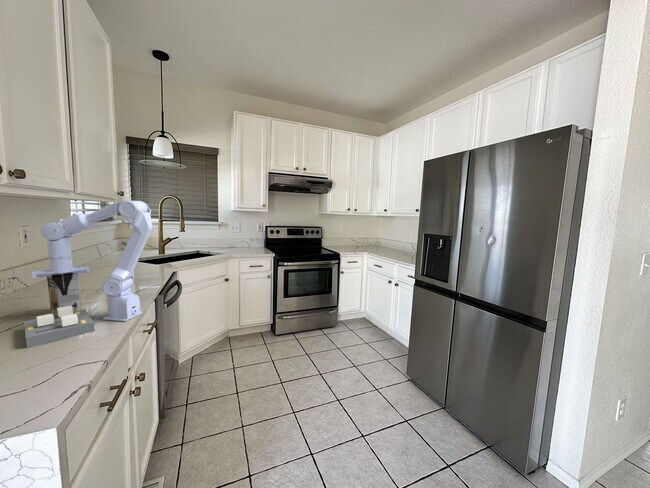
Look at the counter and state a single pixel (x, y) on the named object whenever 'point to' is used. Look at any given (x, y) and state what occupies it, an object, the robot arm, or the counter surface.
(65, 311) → the switch far
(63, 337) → the switch box
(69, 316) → the switch near
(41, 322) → the switch middle
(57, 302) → the coffee box
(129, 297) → the robot arm
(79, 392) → the counter surface
